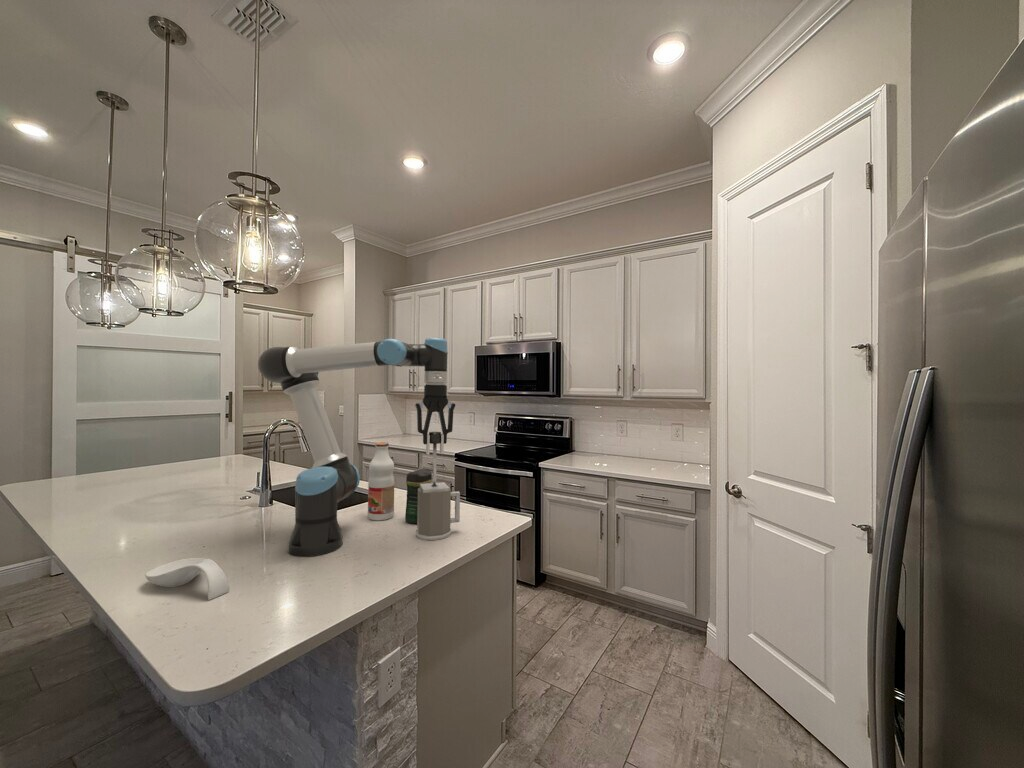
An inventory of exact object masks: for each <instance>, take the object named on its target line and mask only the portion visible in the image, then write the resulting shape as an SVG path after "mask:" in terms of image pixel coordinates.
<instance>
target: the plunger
mask: <svg viewBox="0 0 1024 768" xmlns="http://www.w3.org/2000/svg"><path fill="white" fill-rule="evenodd" d="M428 434H429V435H430V445H432V483H433V484H432V487H436V483H437V447H438V444H439V445H440V443H441V434H442V431H428Z"/></svg>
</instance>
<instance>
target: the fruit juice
mask: <svg viewBox="0 0 1024 768" xmlns="http://www.w3.org/2000/svg"><path fill="white" fill-rule="evenodd" d="M374 447H375V453H374V456H373V458H372V459H371V461H370V463H369V464H368V470H369V477H368V482H367V483H368V484H367V486H368V488H367V489H368V490H367V517H368V519H369V520H371V521H384V520H390V519H392V518H393V517H394V515H395V477H394V476H395V475H394V470H395V463H394V461H393V460H392V459H393V458H391V457H390V453H389V447H390V444H389V442H385V441H381V442H380V441H379V442H376V443H375V444H374Z"/></svg>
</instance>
